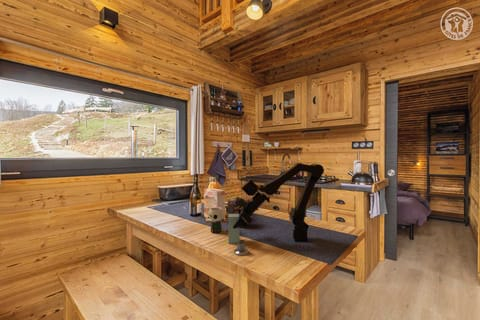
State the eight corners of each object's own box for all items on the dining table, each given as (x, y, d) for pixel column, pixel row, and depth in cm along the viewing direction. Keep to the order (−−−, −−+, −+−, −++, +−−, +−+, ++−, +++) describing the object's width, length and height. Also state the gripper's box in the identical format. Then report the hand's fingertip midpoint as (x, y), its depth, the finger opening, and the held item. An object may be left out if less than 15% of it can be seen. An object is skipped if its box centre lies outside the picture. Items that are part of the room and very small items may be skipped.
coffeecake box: (203, 217, 155) (203, 189, 154) (212, 215, 160) (211, 187, 159) (217, 221, 144) (217, 191, 144) (225, 219, 149) (225, 190, 149)
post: (244, 248, 103) (244, 238, 103) (251, 253, 97) (250, 243, 97) (231, 250, 100) (231, 241, 100) (237, 256, 94) (237, 246, 94)
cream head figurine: (204, 232, 125) (204, 209, 125) (212, 228, 131) (211, 206, 131) (220, 235, 120) (220, 211, 119) (227, 231, 126) (227, 208, 126)
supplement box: (233, 227, 131) (233, 201, 131) (227, 226, 134) (227, 200, 134) (242, 224, 138) (242, 198, 138) (236, 222, 141) (235, 197, 141)
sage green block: (239, 239, 114) (238, 213, 114) (239, 243, 109) (239, 216, 108) (228, 239, 114) (228, 214, 113) (228, 243, 108) (228, 217, 108)
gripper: (242, 188, 120) (222, 209, 120) (245, 194, 101) (220, 219, 101) (257, 202, 121) (237, 223, 120) (262, 211, 102) (238, 236, 102)
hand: (233, 224), depth 111 cm, fingers open, 9 cm apart
